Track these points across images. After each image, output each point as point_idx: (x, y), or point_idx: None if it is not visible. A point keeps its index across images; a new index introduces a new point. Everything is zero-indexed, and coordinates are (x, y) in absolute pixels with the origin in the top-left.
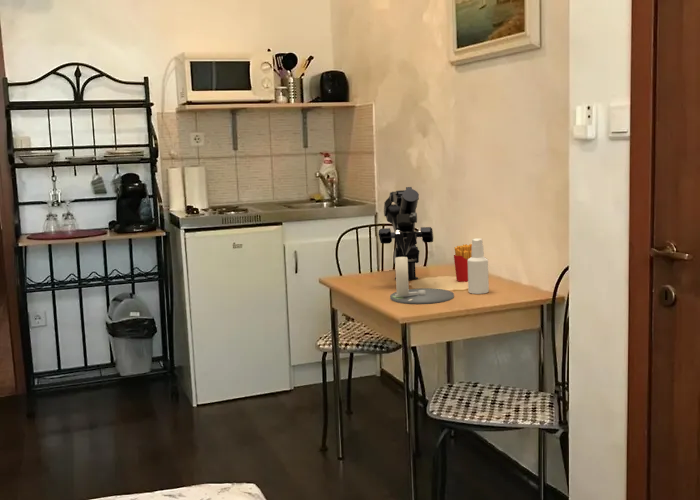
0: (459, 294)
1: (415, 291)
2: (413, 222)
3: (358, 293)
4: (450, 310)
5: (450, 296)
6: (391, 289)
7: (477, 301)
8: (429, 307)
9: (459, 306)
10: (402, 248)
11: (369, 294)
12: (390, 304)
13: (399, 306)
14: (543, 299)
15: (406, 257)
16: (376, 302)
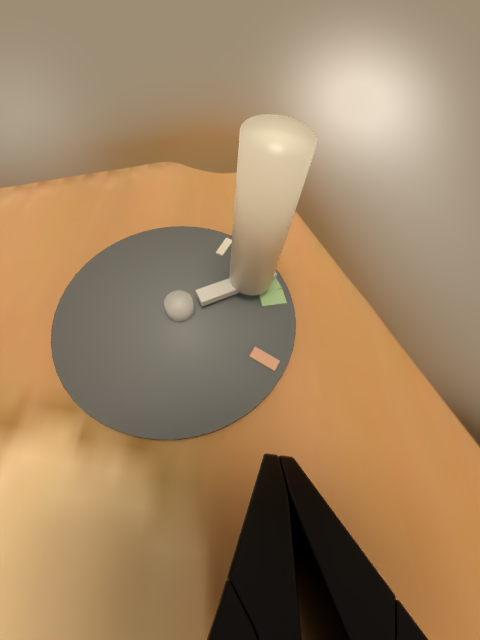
0: (28, 336)
1: (199, 373)
2: None
3: (439, 425)
4: (131, 173)
5: (85, 270)
6: None
7: (19, 234)
8: (176, 202)
9: (95, 198)
10: (333, 522)
11: (386, 397)
12: None
13: None
14: None
15: (246, 133)
16: (327, 273)
